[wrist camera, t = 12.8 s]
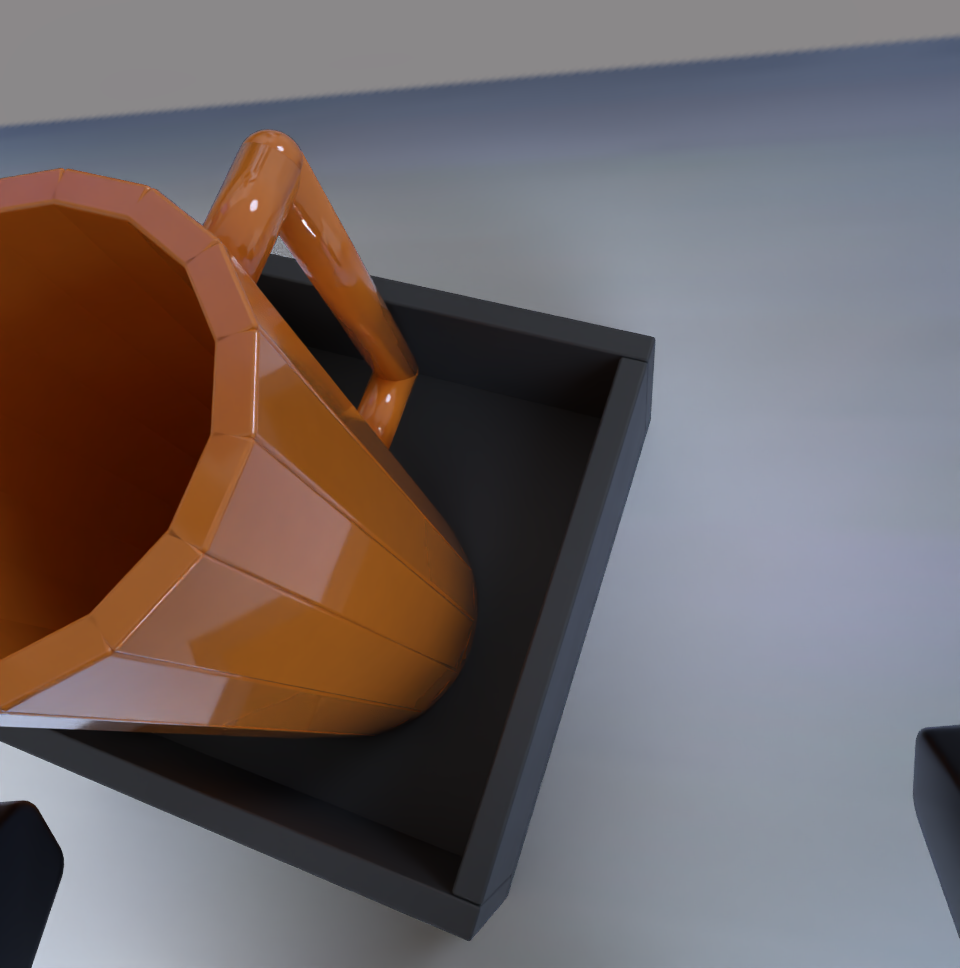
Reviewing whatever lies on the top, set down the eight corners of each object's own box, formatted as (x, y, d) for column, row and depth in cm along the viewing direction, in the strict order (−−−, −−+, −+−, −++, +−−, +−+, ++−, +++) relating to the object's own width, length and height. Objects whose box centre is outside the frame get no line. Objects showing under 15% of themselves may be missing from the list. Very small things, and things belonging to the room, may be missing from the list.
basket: (506, 899, 19) (470, 942, 15) (104, 735, 22) (-26, 731, 18) (651, 418, 22) (656, 336, 18) (279, 327, 25) (204, 238, 20)
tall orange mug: (427, 776, 20) (90, 817, 7) (203, 689, 21) (-380, 604, 9) (544, 433, 22) (432, 24, 9) (333, 377, 23) (2, -36, 11)
